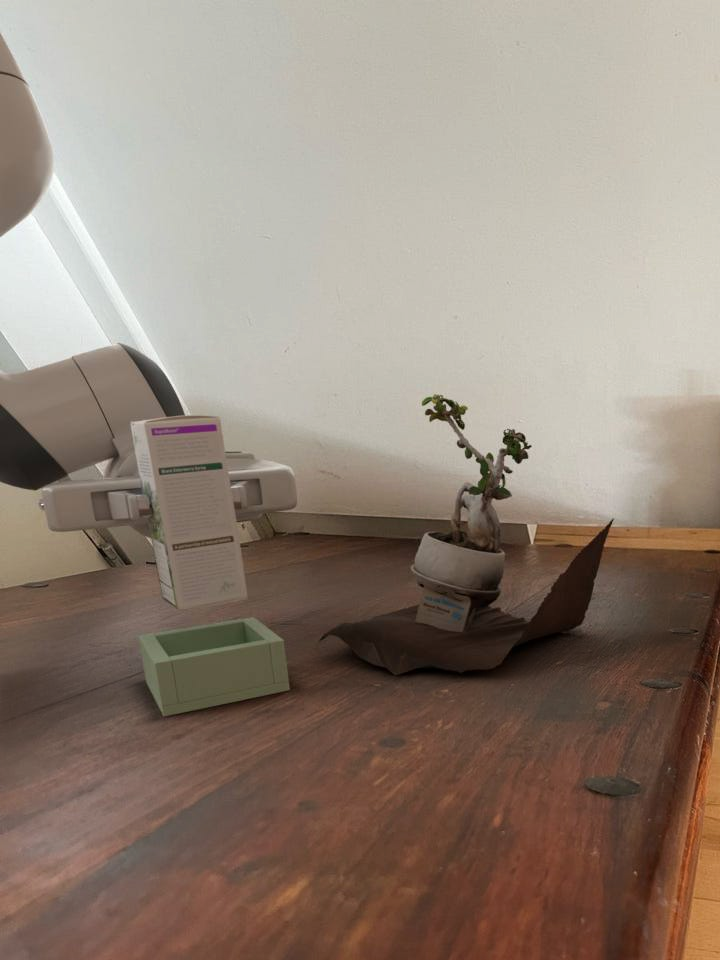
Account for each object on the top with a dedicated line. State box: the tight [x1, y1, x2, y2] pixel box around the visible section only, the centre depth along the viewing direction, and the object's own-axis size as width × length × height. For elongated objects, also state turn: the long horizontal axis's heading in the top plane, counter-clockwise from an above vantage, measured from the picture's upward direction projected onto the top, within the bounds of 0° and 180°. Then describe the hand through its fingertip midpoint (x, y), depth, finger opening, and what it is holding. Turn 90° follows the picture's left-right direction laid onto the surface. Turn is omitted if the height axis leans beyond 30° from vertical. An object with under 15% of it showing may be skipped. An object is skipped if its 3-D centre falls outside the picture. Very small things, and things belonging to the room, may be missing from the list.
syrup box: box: [131, 414, 248, 611], centre depth 61 cm, size 6×6×14 cm
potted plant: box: [315, 393, 615, 676], centre depth 72 cm, size 20×19×25 cm
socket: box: [137, 616, 291, 717], centre depth 64 cm, size 10×10×4 cm
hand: (191, 502), depth 60 cm, fingers closed on syrup box, 6 cm apart
